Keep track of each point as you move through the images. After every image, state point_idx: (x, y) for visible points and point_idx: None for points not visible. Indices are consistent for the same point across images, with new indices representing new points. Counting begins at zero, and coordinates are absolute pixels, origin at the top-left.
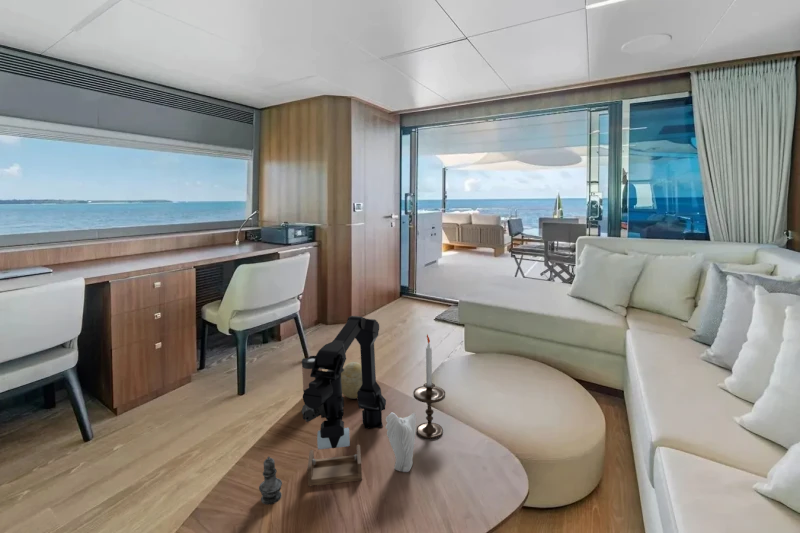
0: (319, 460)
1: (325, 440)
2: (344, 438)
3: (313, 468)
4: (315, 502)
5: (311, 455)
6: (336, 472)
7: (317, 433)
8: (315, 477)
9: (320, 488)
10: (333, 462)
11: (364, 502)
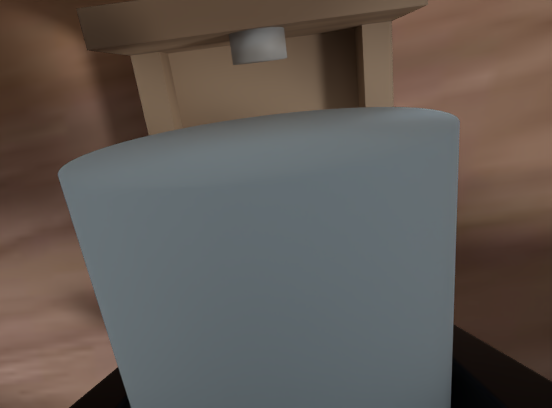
0: (370, 77)
1: (108, 334)
2: None
3: (313, 34)
4: (3, 114)
5: (318, 5)
6: None
7: (164, 189)
8: (156, 84)
9: (130, 124)
10: None
11: (47, 367)
